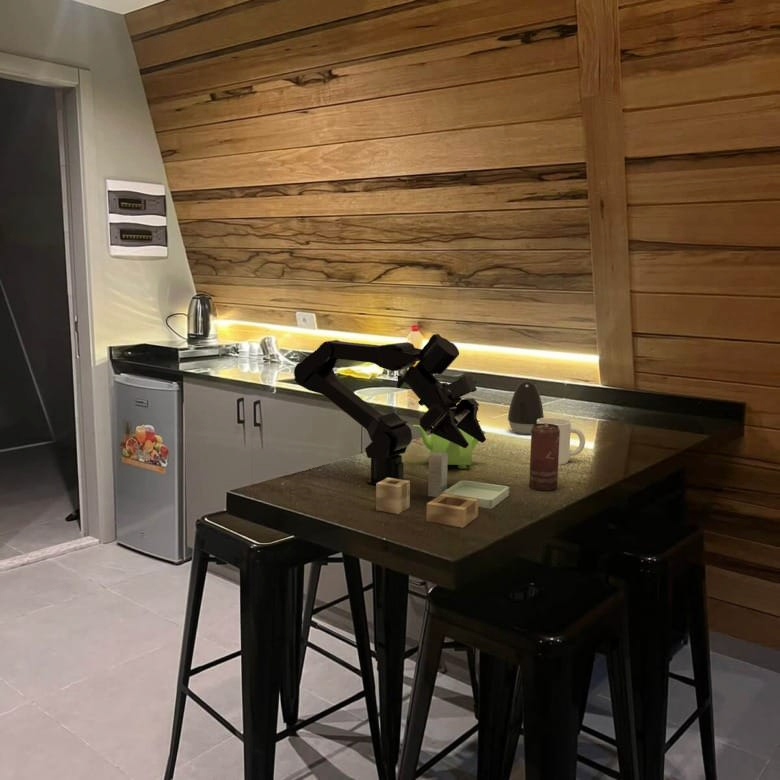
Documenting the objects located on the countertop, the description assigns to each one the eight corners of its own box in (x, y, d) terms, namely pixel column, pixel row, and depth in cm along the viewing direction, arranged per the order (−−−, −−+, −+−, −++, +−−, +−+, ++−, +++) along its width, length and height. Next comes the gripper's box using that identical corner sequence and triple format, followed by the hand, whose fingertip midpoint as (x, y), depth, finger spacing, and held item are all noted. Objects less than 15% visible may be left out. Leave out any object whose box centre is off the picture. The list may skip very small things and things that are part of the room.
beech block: (376, 510, 160) (376, 483, 159) (387, 503, 164) (387, 477, 163) (398, 513, 157) (398, 487, 156) (409, 507, 162) (409, 480, 161)
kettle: (454, 476, 185) (455, 429, 183) (408, 465, 194) (408, 420, 192) (491, 464, 196) (493, 419, 194) (446, 454, 205) (447, 411, 203)
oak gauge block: (426, 521, 153) (426, 503, 152) (442, 510, 160) (442, 493, 159) (463, 527, 150) (463, 509, 149) (477, 516, 156) (478, 499, 156)
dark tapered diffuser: (548, 431, 233) (551, 380, 231) (534, 438, 225) (536, 384, 222) (516, 427, 239) (518, 377, 236) (501, 433, 230) (503, 381, 228)
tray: (441, 500, 166) (441, 492, 166) (461, 487, 176) (462, 479, 175) (491, 509, 161) (491, 500, 161) (509, 495, 171) (509, 486, 170)
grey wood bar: (428, 495, 169) (429, 454, 168) (434, 492, 172) (434, 451, 171) (441, 497, 168) (442, 456, 167) (446, 494, 171) (447, 453, 169)
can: (553, 483, 180) (555, 422, 178) (560, 491, 174) (563, 428, 171) (526, 482, 180) (528, 422, 178) (532, 491, 174) (535, 428, 171)
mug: (582, 458, 202) (584, 418, 201) (585, 467, 194) (587, 425, 193) (534, 456, 204) (536, 417, 202) (535, 464, 196) (537, 423, 194)
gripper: (433, 364, 158) (484, 422, 154) (470, 361, 175) (518, 414, 170) (398, 402, 163) (447, 459, 158) (438, 395, 179) (483, 447, 175)
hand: (476, 443), depth 165 cm, fingers open, 9 cm apart
